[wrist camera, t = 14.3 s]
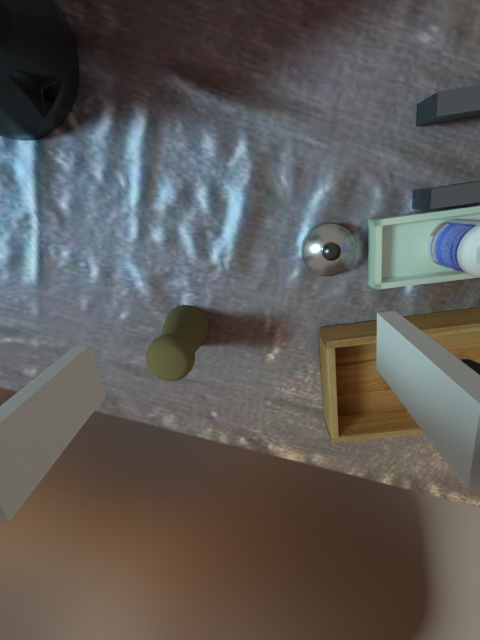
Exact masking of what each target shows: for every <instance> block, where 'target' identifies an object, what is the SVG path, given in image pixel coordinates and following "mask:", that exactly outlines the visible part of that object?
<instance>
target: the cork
mask: <svg viewBox="0 0 480 640" xmlns="http://www.w3.org/2000/svg"><path fill="white" fill-rule="evenodd" d="M208 333H209V322H208V319H207V317H206V316H205V314H204V313H203V312H202V311H201V310H199V309H198V308H196V307H193V306H188V305H183V306H178V307H176V308H174V309H173V310H171V312H170V313H169V314H168V316H167V318H166V321H165V324H164V327H163V330H162V333H161V336H160V337H158V338H156V339H155V340H154V341H153V342H152V343H151V344H150V346H149V347H148V350H147V353H146V363H147V366H148V368H149V370H150V371H151V372H152V374H153V375H155V376H156V377H157V378H159V379H162V380H164V381H176V380H180V379H182V378H184V377H185V376H186V375H187V374H188V373H189V372H190V371H191V370H192V367H193V365H194V362H195V352H196V351H197V350H198V348H199V347H200V345H201V344H202V343H203V341H204V340H205V339H206V337H207V335H208Z"/></svg>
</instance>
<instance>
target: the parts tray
mask: <svg viewBox="0 0 480 640" xmlns="http://www.w3.org/2000/svg"><path fill="white" fill-rule="evenodd" d="M451 219H464V220H480V204H475V205H467V206H460V207H453V208H445V209H438V210H431V211H423V212H416V213H409V214H402V215H394V216H387V217H380V218H372V219H368V285H369V286H371V287H372V288H373V289H375V290H378V289H386V288H394V287H403V286H411V285H420V284H428V283H437V282H445V281H453V280H462V279H470V278H479V277H477V276H473V275H469V274H466V273H463V272H460V271H457V270H453V269H450V268H447V267H444V266H440V265H438V264H435V263H434V262H432V261H431V260H430V259H429V257H428V256H427V253H426V241H427V238H428V236H429V234H430V232H431V231H432V230H433V229H434V228H435V227H436V226H437V225H438V224H440V223H442V222H444V221H446V220H451Z"/></svg>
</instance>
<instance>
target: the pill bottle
mask: <svg viewBox="0 0 480 640" xmlns="http://www.w3.org/2000/svg"><path fill="white" fill-rule="evenodd" d="M426 253H427V256H428V257H429V259H430V260H431V261H432V262H434V263H435V264H438V265H440V266H444V267H447V268H450V269H453V270H457V271H460V272H463V273H466V274H469V275H473V276H477V277H480V220H464V219H451V220H446V221H444V222H442V223H440V224H438V225H437V226H436V227H435V228H434V229H433V230H432V231H431V232H430V234H429V236H428V238H427V241H426Z"/></svg>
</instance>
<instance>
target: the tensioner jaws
mask: <svg viewBox="0 0 480 640" xmlns="http://www.w3.org/2000/svg"><path fill="white" fill-rule="evenodd" d="M478 116H480V85H477V86H471V87H465V88H459V89H453V90H447V91H441V92H437V93H436V94H434V95H432V96H431V97H429V98H427V99H426V100H424V101H422V102H421V103H419V104H417V118H416V126H421V125H427V124H433V123H440V122H446V121H452V120H459V119H465V118H471V117H478ZM479 202H480V181H474V182H467V183H460V184H453V185H446V186H439V187H432V188H425V189H418V190H413V202H412V209H436V208H443V207H450V206H457V205H465V204H472V203H479Z"/></svg>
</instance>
